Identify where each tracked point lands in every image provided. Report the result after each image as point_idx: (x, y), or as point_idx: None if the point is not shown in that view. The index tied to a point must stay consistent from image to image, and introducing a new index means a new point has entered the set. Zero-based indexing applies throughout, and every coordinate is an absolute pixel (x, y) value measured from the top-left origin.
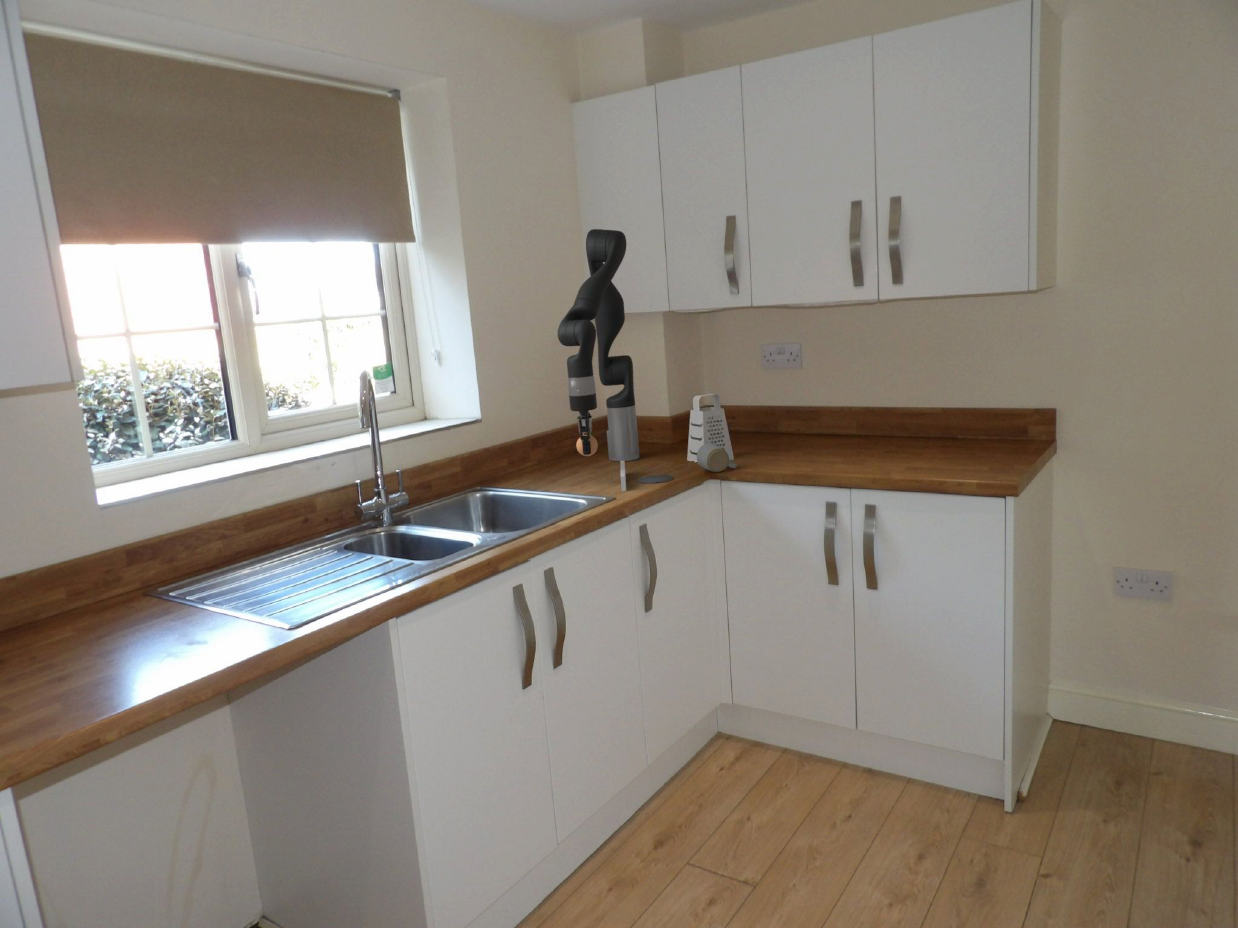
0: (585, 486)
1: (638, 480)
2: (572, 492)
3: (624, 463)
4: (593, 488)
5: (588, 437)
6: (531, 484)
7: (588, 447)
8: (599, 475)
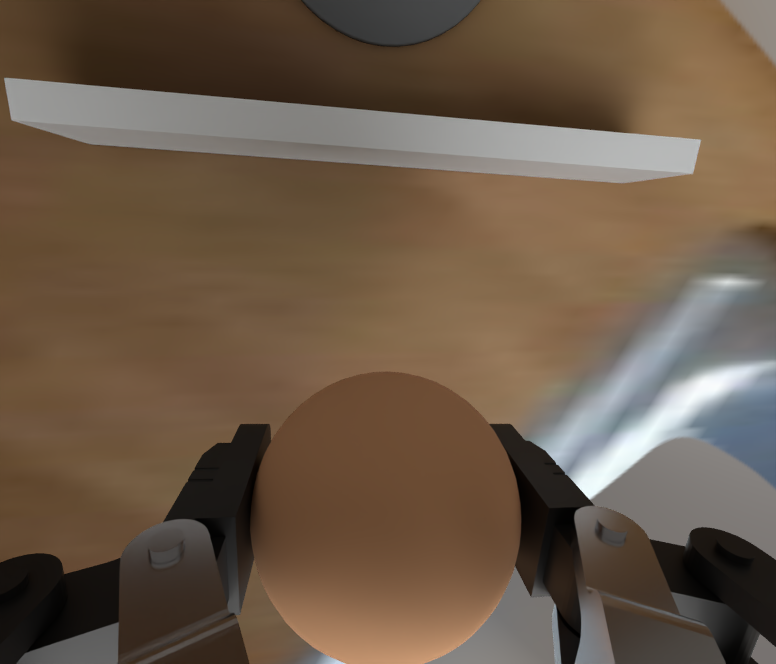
0: None
1: (402, 41)
2: None
3: (160, 92)
4: (466, 334)
5: (766, 571)
6: None
7: (563, 478)
8: (78, 298)
